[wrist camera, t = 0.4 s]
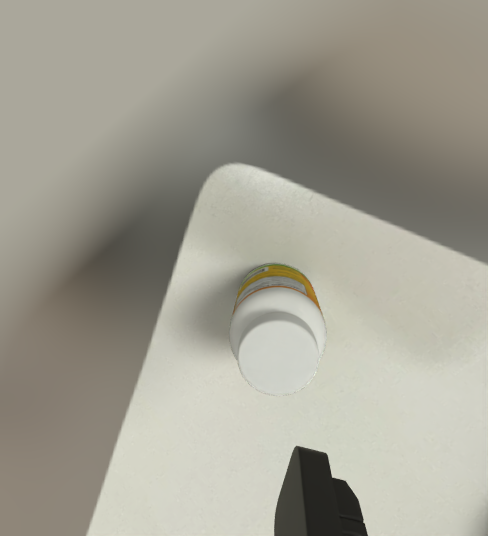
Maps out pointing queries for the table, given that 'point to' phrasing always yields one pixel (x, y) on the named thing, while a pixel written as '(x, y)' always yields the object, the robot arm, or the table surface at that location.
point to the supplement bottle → (277, 330)
